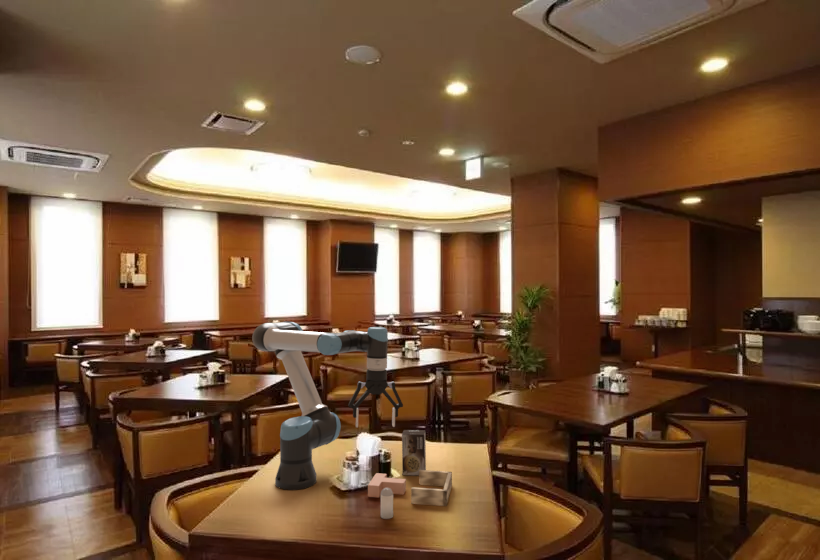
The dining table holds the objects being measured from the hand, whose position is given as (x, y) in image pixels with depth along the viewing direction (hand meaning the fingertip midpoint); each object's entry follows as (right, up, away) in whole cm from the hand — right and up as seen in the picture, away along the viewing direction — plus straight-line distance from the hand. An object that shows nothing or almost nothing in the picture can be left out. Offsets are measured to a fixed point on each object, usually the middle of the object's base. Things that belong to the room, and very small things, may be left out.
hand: (375, 426), depth 187 cm
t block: (+5, -22, -6) cm, 23 cm away
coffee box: (+15, -22, +13) cm, 29 cm away
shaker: (+6, -21, -26) cm, 34 cm away
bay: (+21, -21, -9) cm, 31 cm away
